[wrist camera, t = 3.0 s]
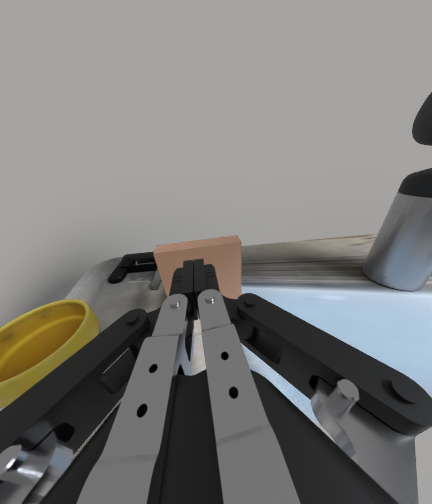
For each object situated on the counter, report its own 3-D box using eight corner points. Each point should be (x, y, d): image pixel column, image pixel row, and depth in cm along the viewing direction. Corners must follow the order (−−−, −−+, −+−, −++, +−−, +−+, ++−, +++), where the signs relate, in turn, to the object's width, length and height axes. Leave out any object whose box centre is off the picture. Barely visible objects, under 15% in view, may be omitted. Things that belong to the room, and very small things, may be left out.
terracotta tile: (237, 300, 31) (236, 235, 24) (241, 311, 28) (241, 242, 21) (176, 310, 30) (157, 244, 23) (175, 321, 27) (153, 253, 21)
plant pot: (132, 340, 26) (108, 297, 21) (81, 434, 17) (17, 397, 12) (76, 338, 27) (40, 297, 22) (-1, 426, 18) (-90, 390, 13)
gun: (181, 280, 35) (188, 245, 49) (93, 289, 35) (124, 251, 49) (184, 291, 37) (190, 253, 50) (100, 298, 37) (128, 259, 50)
